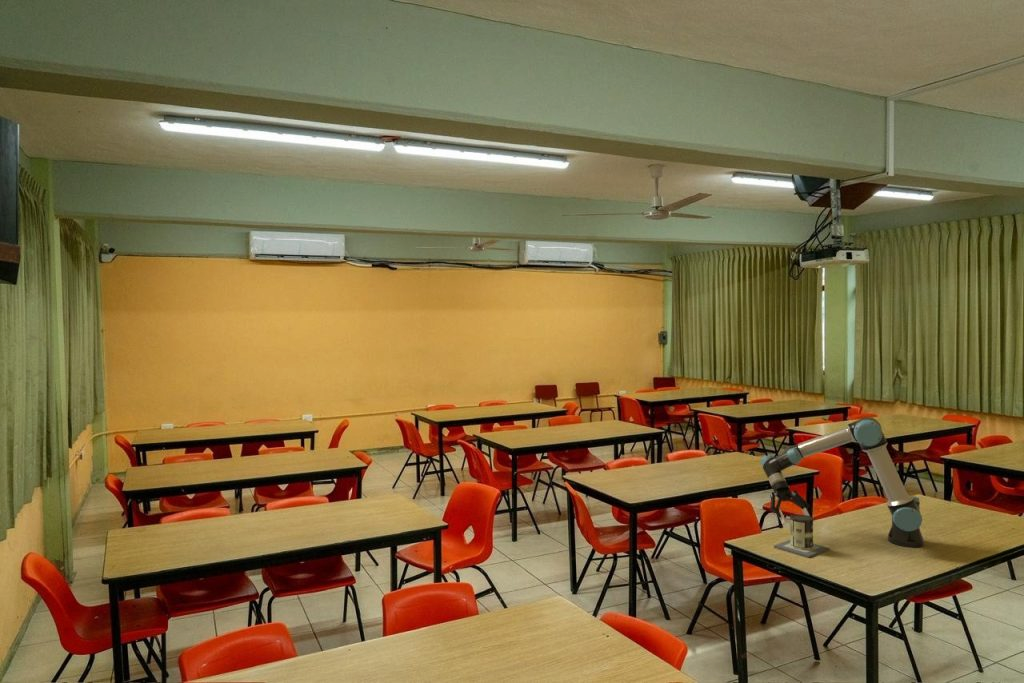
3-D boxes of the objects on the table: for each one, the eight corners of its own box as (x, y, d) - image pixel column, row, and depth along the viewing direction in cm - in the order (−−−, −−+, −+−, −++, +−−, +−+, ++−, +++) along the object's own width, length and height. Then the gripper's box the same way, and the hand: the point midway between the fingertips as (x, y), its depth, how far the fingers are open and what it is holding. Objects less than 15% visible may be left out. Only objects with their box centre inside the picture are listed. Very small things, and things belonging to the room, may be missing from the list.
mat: (829, 549, 317) (829, 547, 317) (808, 558, 307) (808, 555, 307) (794, 540, 332) (794, 537, 332) (773, 547, 321) (773, 545, 321)
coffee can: (810, 543, 323) (810, 514, 323) (815, 550, 313) (815, 520, 313) (788, 542, 326) (788, 513, 325) (792, 549, 315) (792, 519, 315)
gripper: (797, 486, 341) (816, 523, 326) (753, 489, 336) (770, 527, 322) (804, 478, 335) (823, 516, 321) (759, 481, 331) (776, 520, 316)
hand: (797, 522), depth 321 cm, fingers open, 13 cm apart
